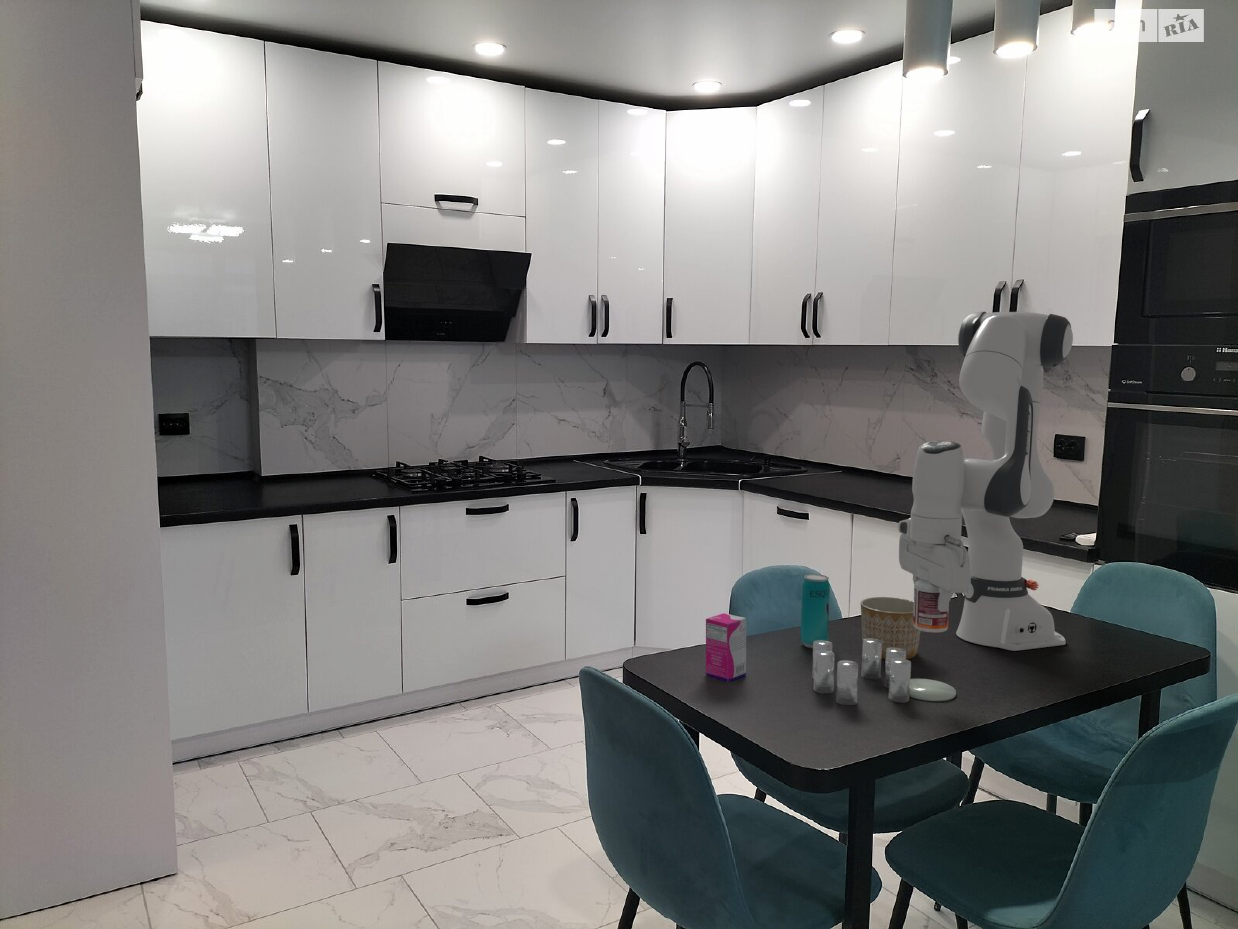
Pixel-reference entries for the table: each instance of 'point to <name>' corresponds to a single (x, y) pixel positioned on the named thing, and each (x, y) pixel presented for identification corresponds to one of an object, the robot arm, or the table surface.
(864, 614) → the planter
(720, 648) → the supplement box
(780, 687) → the table surface
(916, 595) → the pill bottle
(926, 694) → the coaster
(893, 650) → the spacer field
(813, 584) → the beverage can
